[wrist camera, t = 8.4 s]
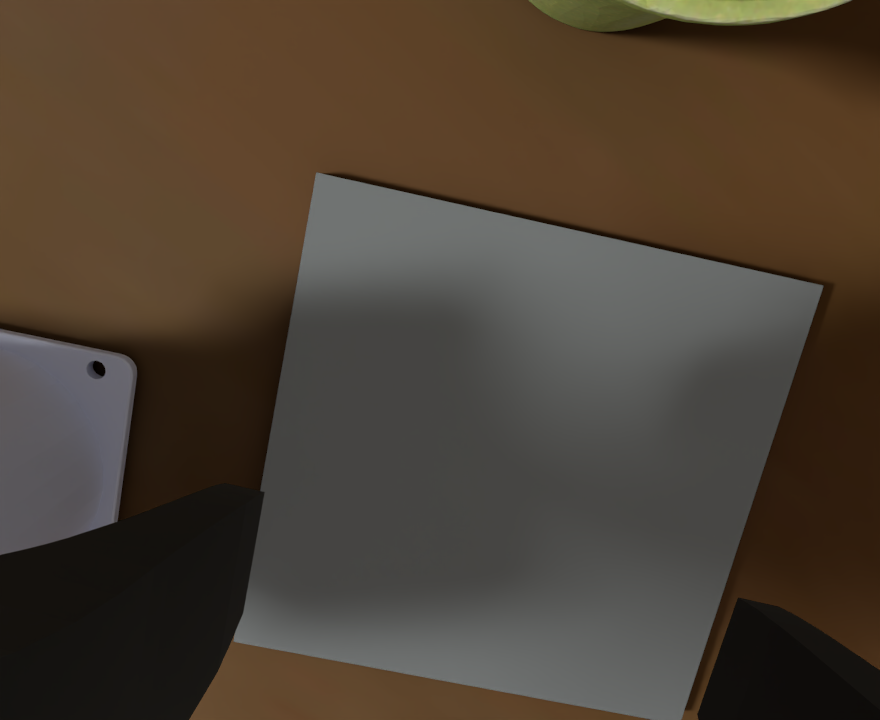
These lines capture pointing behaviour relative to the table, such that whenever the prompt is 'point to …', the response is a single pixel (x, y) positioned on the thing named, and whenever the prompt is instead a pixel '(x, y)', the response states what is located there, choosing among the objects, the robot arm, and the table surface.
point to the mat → (513, 450)
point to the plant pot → (676, 12)
